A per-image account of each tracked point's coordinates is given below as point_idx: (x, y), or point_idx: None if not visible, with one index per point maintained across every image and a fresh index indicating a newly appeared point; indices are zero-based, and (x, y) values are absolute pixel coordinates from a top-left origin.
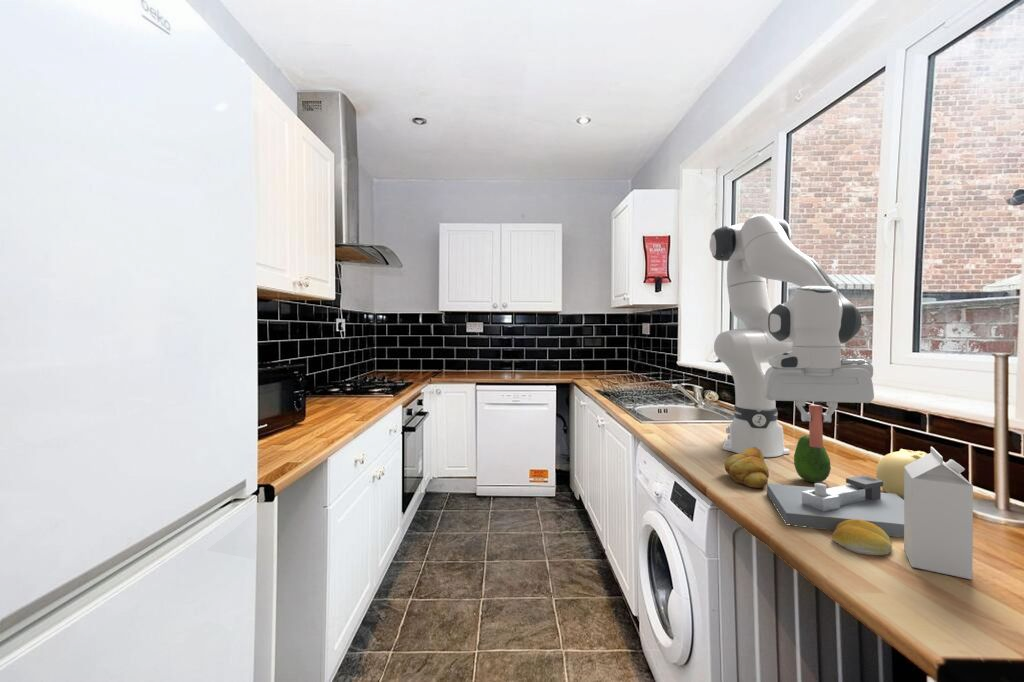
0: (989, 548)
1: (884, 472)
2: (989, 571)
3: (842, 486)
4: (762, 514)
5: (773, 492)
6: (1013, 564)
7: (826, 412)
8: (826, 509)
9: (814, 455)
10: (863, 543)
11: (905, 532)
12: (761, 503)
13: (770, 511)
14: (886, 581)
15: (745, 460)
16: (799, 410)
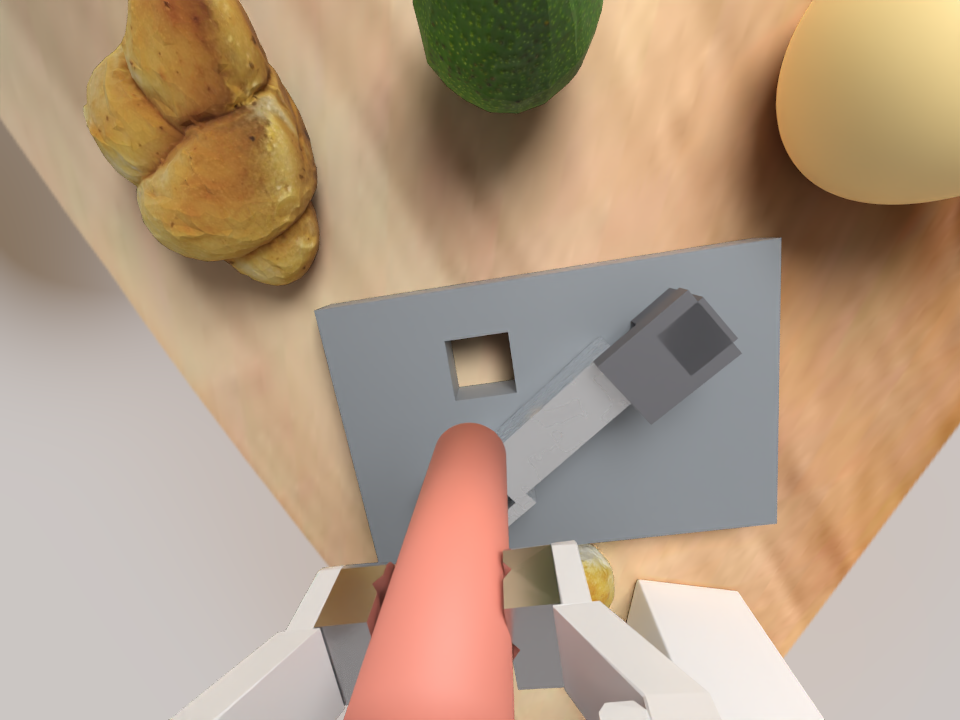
0: (850, 499)
1: (827, 122)
2: (771, 617)
3: (570, 392)
4: (327, 491)
5: (340, 405)
6: (847, 568)
7: (565, 641)
8: None
9: (512, 67)
10: None
11: (649, 639)
12: (319, 405)
13: (347, 461)
14: (550, 714)
15: (173, 228)
16: (256, 658)
